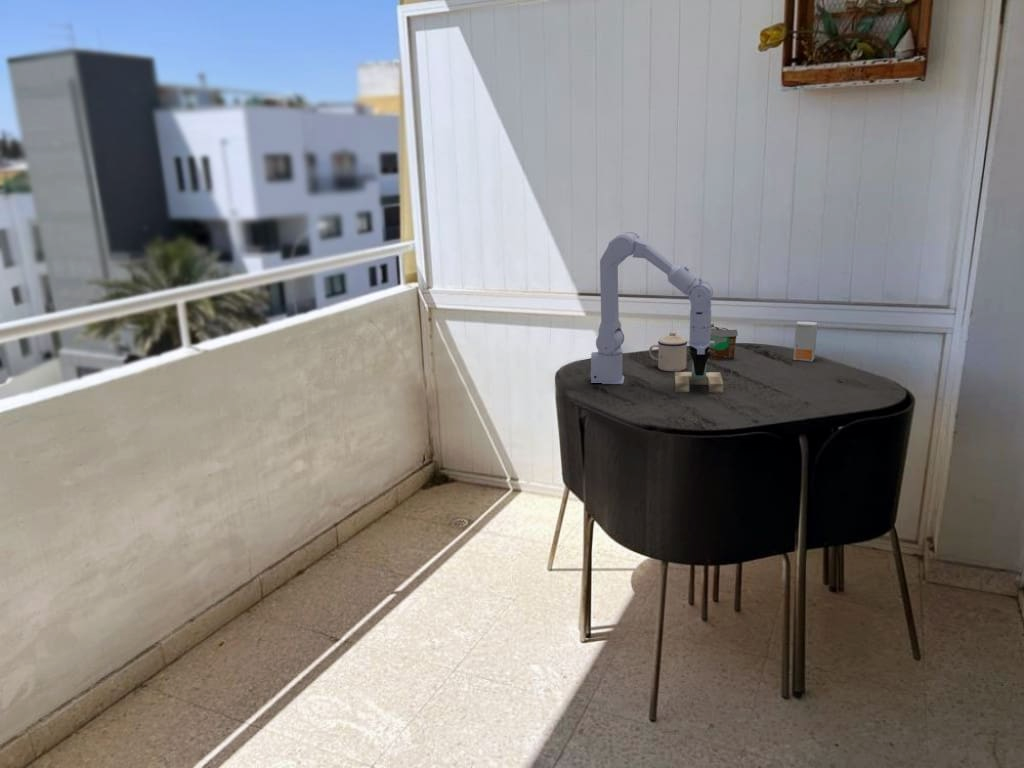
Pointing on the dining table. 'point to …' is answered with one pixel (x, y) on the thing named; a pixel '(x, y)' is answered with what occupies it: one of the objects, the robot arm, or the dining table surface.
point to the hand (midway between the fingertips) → (698, 373)
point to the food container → (722, 343)
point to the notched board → (698, 381)
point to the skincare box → (805, 341)
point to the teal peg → (698, 377)
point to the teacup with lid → (671, 352)
